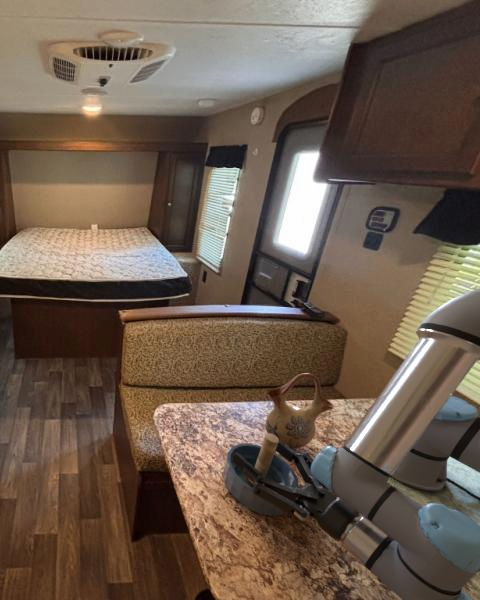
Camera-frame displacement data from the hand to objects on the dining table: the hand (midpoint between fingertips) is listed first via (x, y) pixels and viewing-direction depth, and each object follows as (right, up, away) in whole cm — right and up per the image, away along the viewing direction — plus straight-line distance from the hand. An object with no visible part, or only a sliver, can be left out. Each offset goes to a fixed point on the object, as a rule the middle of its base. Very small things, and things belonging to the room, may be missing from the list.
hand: (251, 447), depth 79 cm
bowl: (+1, -11, +1) cm, 11 cm away
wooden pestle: (+1, -10, +1) cm, 10 cm away
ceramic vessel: (+17, -6, +14) cm, 23 cm away
